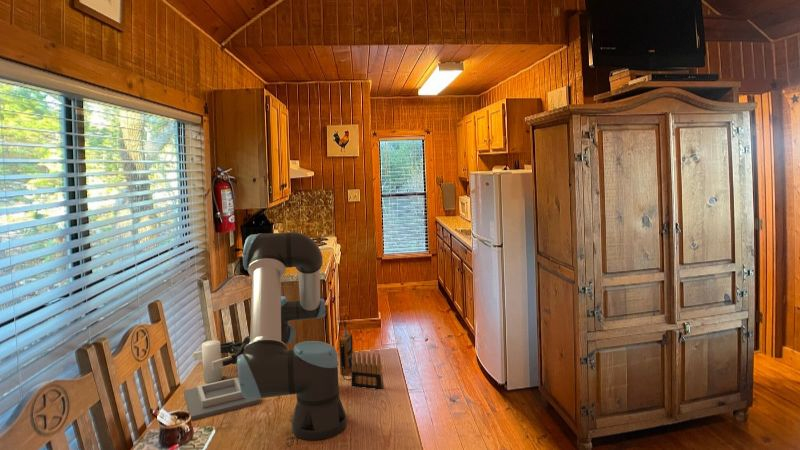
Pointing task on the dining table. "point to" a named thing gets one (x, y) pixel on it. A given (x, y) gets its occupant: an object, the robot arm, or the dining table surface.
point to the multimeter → (345, 351)
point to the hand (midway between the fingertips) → (202, 361)
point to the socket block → (216, 398)
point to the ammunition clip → (367, 371)
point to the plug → (211, 360)
